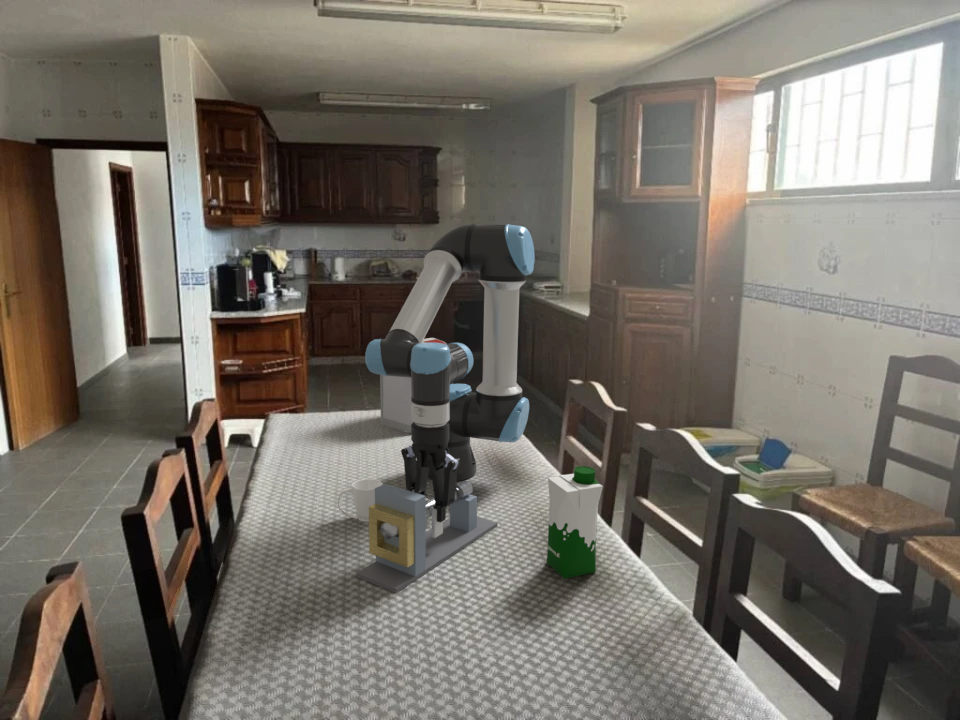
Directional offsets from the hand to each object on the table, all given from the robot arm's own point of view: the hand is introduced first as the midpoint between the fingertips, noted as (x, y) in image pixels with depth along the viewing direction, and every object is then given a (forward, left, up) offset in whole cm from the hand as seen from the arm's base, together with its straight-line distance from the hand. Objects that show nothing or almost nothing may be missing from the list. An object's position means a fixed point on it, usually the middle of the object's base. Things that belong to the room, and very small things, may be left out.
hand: (430, 532), depth 144 cm
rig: (-1, 0, -4) cm, 4 cm away
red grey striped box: (-42, -76, -4) cm, 87 cm away
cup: (+5, -22, -4) cm, 23 cm away
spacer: (+11, +4, +4) cm, 13 cm away
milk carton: (-19, +21, -4) cm, 29 cm away
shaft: (0, 0, +4) cm, 4 cm away
